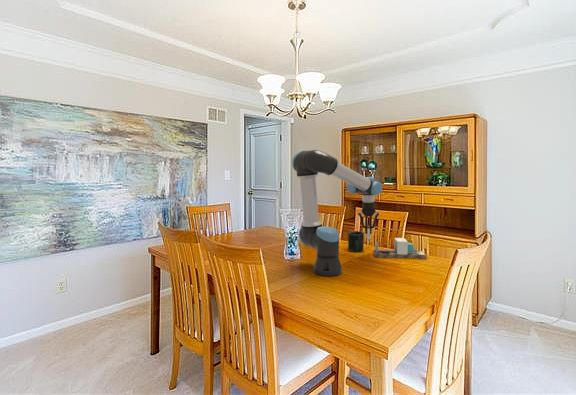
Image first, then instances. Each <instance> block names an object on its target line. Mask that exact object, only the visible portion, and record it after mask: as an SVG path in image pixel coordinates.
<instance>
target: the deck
mask: <svg viewBox="0 0 576 395" xmlns="http://www.w3.org/2000/svg"><path fill="white" fill-rule="evenodd" d="M372 254H373V256H374V258H377V259H402V258H418V259H417V260H427V258H428V257H427V254H426V253H425V252H424V251H423V250H417V252H416V254H408V255H402V254H397V252H376V251H375V248H373V250H372Z"/></svg>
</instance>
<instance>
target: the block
mask: <svg viewBox="0 0 576 395" xmlns="http://www.w3.org/2000/svg"><path fill="white" fill-rule="evenodd" d="M413 248H414V244H413V243H412V242H408V252H413Z"/></svg>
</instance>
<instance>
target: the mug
mask: <svg viewBox="0 0 576 395" xmlns="http://www.w3.org/2000/svg"><path fill="white" fill-rule="evenodd" d="M347 235H348V237H347V241H348V242H347V248H348V251H349V252H354V253H362V252H363V251H364V245H365V244H364V243H365V242H364V240H365V238H364V237H365V231H364V232H363V231H357V230H352V231H348V232H347Z"/></svg>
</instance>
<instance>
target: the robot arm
mask: <svg viewBox="0 0 576 395" xmlns="http://www.w3.org/2000/svg"><path fill="white" fill-rule="evenodd" d="M291 164H292V169H293V170H294V171H295V172H296V177H297V178H298V179H299V182H300V184H299V185H300V194H301V206H302V217H303V222H302V223H301V227H300V230H299V231H298V238H299V241H300V242H301V244H303V245H305V246H306V247H309V248H312V249H314V250H316V258H315V261H314V265H313V267H312V268H313V269H312V270H313V271H312V272H313V273H314V274H316V275H318V276H323V277H334V276H340V275H341V274H342V272H343V269H342V264H341V261H340V258H339V255H340V254H339V253H340V252H339V251H340V246H339V245H340V236H339V235H340V234H339V230H337V228H335V227H332V226H323V223H322V221H320V217H319V216H320V215H319V202H318V193H317V180H316V178H317V176H319V174H324V175H326V176H332V177H335V178H337V179H339V180H341V181H343V182H344V183H346V191H347V193H348V194H353V195H355V194H360V195H362V196H361V197H362V200H361V201H362V204H361V211H360V212H358V213H357V214H358V216H359V219H360V224H361V227H362V229H365V231H364V234H365V235H366V240H371V239H370V238H371V234H372V232H373V230H372V229H374V228H375V227H376V223H377V221H378V218H379V216H380V213H379V212H378V211H376V208H375V207H376V203H375V201H376V197H375V196H379V195H380V194H382V192H383V184H382V183H381V182H379V181H375V180H376V178H375V177H374V176H364V175H362V174H360V172H357V171H355V170H354V169H351V168H349V167H347V166H346V165H344V164H342V163H341V162H339V161H338V159H337V157H334V156H332V155H330V154H329V153H326V152H325V151H322V150H319V149H318V150H317V149H312V150H302V151H299V152H297V153H296V154H294V156H293V157H292V160H291ZM363 216H365V217H364V218H365V220H364V219H363ZM373 216H374V218H373ZM368 217H369V218H368ZM368 219H369V221H368ZM368 224H369V225H368Z"/></svg>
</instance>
